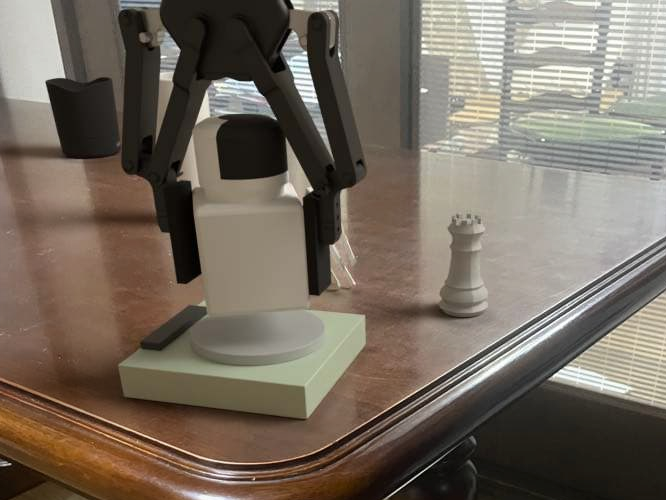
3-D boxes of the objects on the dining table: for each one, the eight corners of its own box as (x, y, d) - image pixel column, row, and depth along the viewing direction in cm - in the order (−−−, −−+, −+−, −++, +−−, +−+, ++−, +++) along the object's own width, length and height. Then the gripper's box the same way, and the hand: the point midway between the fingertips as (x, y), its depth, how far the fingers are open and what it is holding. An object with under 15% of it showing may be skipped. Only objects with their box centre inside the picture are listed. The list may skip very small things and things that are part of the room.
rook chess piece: (496, 315, 77) (502, 221, 72) (449, 321, 75) (452, 225, 71) (476, 298, 80) (480, 208, 76) (430, 304, 79) (432, 212, 74)
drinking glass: (152, 217, 103) (130, 75, 95) (202, 208, 107) (185, 69, 99) (182, 229, 99) (161, 81, 91) (233, 219, 103) (217, 75, 94)
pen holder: (89, 162, 129) (75, 86, 123) (47, 154, 133) (31, 81, 128) (137, 151, 136) (125, 78, 130) (95, 144, 140) (82, 74, 134)
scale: (123, 397, 63) (115, 354, 61) (207, 328, 74) (202, 289, 72) (307, 419, 60) (304, 375, 58) (366, 344, 71) (365, 305, 69)
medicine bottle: (299, 279, 67) (286, 106, 60) (310, 310, 61) (298, 123, 55) (204, 285, 66) (181, 110, 59) (207, 318, 60) (182, 128, 53)
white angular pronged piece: (348, 340, 88) (291, 228, 96) (361, 246, 79) (297, 132, 87) (331, 343, 87) (274, 230, 96) (342, 249, 78) (279, 133, 86)
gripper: (416, -102, 51) (415, 279, 64) (81, -98, 56) (141, 257, 68) (381, -108, 45) (387, 314, 58) (8, -102, 50) (89, 287, 62)
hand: (254, 283), depth 63 cm, fingers closed on medicine bottle, 9 cm apart
